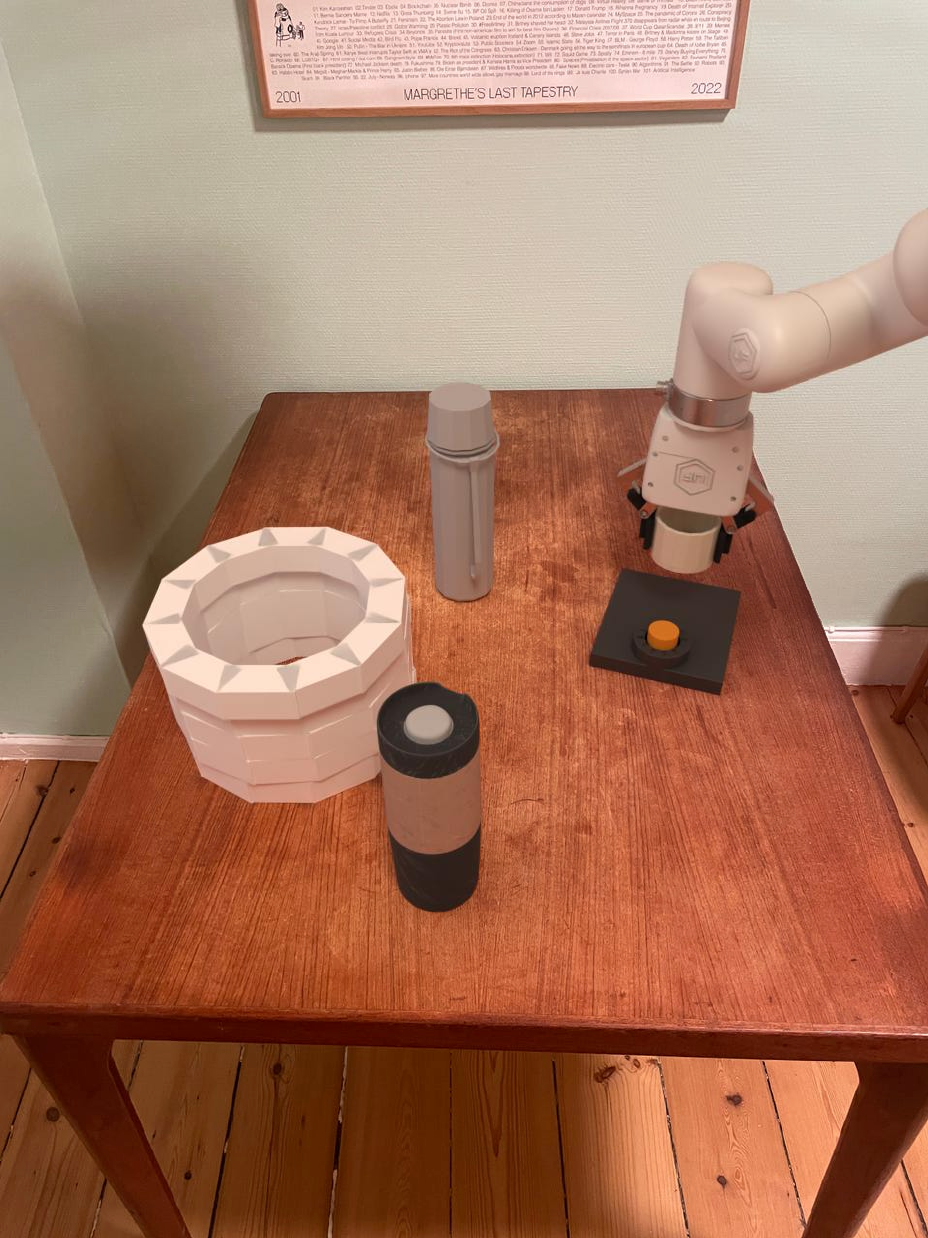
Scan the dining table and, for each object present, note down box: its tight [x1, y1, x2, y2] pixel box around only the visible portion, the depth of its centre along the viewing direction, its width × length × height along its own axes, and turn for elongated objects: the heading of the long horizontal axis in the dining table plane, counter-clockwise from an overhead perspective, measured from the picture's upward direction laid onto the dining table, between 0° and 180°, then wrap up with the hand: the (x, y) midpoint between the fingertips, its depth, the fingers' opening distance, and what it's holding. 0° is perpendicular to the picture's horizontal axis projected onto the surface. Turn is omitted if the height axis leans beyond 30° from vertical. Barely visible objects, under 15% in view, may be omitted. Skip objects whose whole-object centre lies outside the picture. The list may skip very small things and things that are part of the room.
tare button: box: [647, 620, 679, 651], centre depth 95 cm, size 3×3×2 cm
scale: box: [588, 567, 742, 696], centre depth 100 cm, size 14×16×4 cm
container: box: [141, 526, 418, 805], centre depth 87 cm, size 25×24×16 cm
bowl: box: [649, 506, 722, 575], centre depth 96 cm, size 7×7×5 cm
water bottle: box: [424, 382, 501, 603], centre depth 99 cm, size 9×8×25 cm
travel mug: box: [377, 680, 483, 913], centre depth 71 cm, size 8×8×20 cm
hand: (683, 548), depth 97 cm, fingers closed on bowl, 7 cm apart
